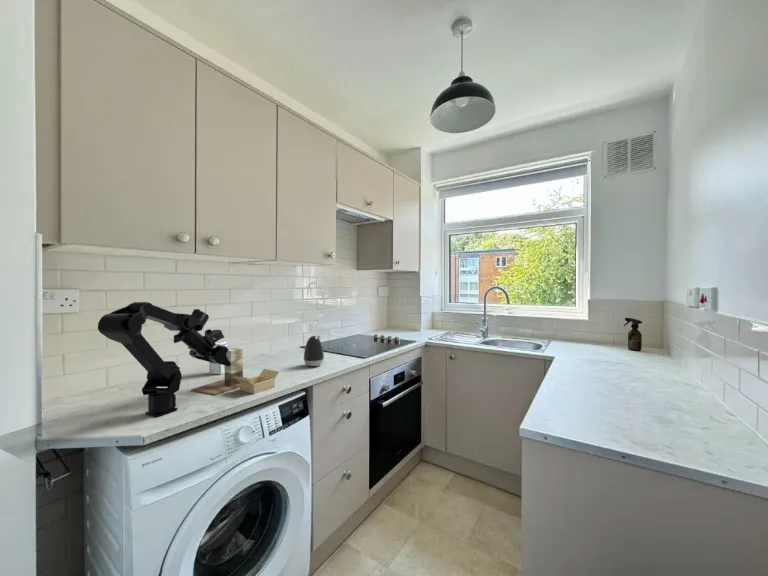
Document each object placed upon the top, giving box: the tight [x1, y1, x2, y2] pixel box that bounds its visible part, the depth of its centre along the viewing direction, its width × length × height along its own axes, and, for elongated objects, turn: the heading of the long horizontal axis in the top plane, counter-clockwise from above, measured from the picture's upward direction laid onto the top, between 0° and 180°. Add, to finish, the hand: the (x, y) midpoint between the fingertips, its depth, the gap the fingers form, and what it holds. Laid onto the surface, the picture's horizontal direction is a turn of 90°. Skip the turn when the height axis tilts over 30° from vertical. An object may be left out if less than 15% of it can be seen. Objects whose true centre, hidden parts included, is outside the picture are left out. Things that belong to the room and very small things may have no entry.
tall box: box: [224, 347, 244, 386], centre depth 130 cm, size 5×5×14 cm
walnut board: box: [190, 376, 249, 396], centre depth 129 cm, size 20×14×1 cm
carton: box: [234, 368, 280, 395], centre depth 125 cm, size 14×9×6 cm, turn 147°
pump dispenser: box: [303, 335, 325, 367], centre depth 161 cm, size 10×10×15 cm
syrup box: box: [208, 341, 228, 375], centre depth 149 cm, size 6×6×14 cm
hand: (223, 364), depth 126 cm, fingers open, 9 cm apart
